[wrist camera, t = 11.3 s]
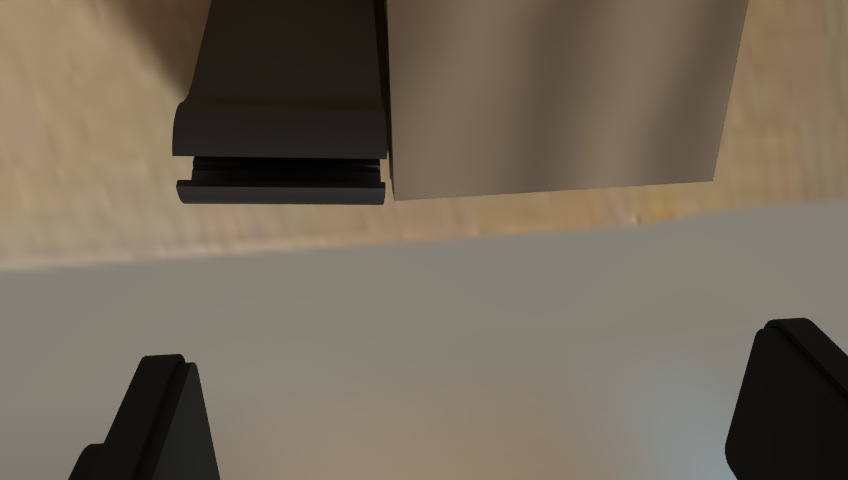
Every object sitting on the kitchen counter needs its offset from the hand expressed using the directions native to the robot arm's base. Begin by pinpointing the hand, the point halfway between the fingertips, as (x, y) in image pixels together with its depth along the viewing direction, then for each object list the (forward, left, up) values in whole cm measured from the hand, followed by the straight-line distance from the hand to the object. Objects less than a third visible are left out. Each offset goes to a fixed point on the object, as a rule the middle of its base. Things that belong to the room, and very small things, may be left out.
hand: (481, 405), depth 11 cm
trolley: (-7, 0, -22) cm, 23 cm away
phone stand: (+4, 0, -22) cm, 22 cm away
